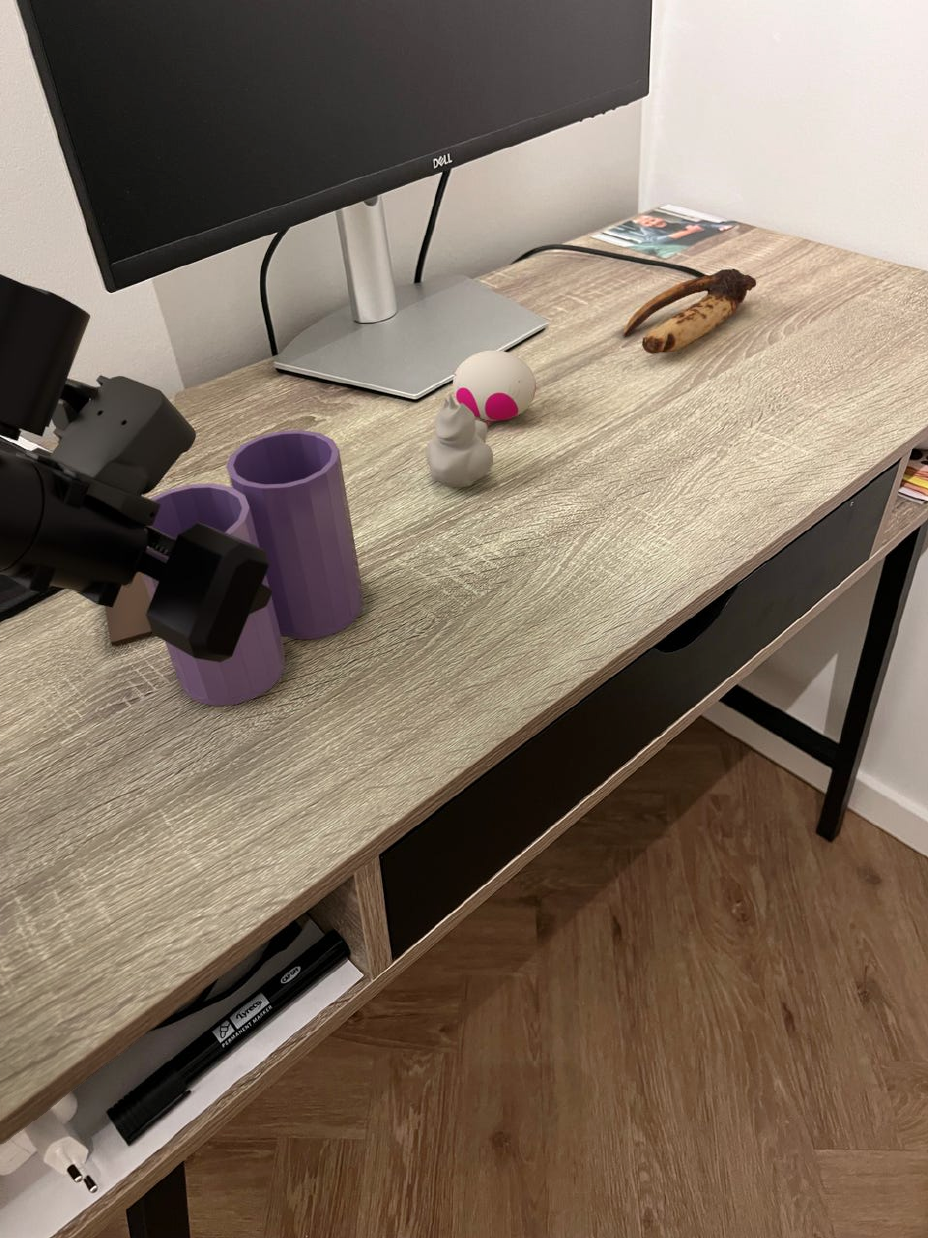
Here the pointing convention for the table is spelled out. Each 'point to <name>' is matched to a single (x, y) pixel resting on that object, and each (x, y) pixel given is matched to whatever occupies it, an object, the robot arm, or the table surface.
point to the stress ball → (494, 385)
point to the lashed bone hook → (692, 310)
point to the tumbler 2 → (302, 529)
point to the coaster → (129, 613)
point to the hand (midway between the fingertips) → (227, 577)
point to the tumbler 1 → (260, 639)
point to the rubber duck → (458, 447)
